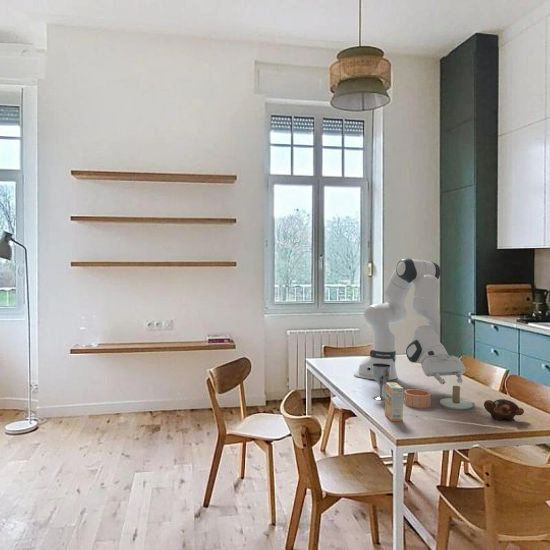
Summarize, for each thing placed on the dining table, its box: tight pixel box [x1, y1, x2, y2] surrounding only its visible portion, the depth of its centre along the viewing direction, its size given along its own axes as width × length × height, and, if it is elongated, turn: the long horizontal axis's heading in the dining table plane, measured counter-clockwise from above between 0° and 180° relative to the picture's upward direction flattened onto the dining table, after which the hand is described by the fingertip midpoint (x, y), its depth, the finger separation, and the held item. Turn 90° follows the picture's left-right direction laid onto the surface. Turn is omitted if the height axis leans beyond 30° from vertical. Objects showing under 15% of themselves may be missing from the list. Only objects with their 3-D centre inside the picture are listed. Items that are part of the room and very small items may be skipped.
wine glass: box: [372, 363, 391, 402], centre depth 220 cm, size 8×8×15 cm
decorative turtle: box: [483, 398, 525, 422], centre depth 193 cm, size 10×15×8 cm, turn 94°
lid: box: [440, 385, 472, 411], centre depth 209 cm, size 13×13×8 cm
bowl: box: [403, 388, 432, 409], centre depth 210 cm, size 11×11×6 cm
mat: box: [436, 398, 476, 413], centre depth 210 cm, size 15×15×1 cm
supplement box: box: [384, 382, 405, 422], centre depth 192 cm, size 8×5×13 cm, turn 5°
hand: (452, 382), depth 212 cm, fingers open, 8 cm apart
